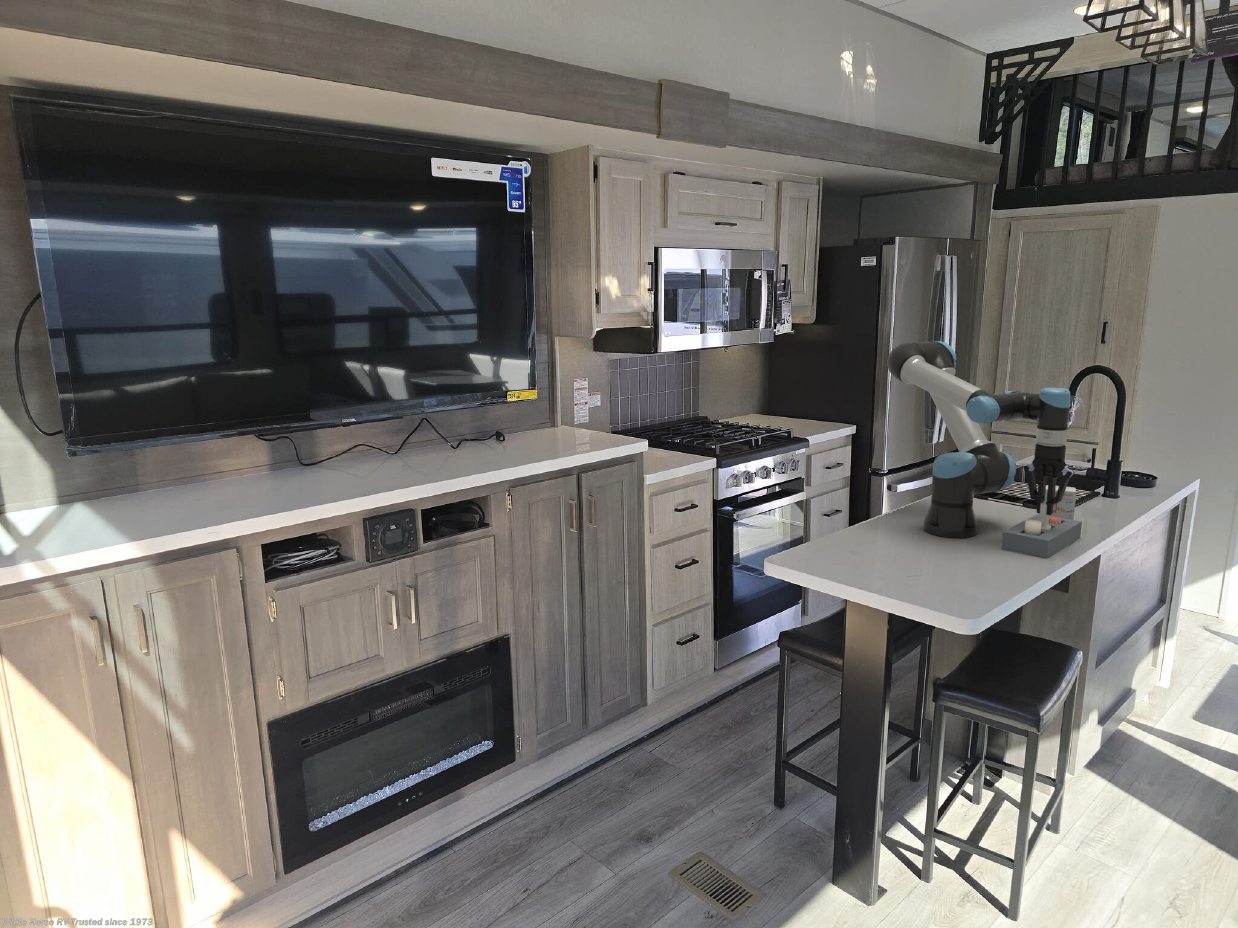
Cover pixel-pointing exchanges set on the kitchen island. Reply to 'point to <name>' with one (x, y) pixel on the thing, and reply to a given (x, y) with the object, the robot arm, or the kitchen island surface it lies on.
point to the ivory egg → (1033, 527)
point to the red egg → (1054, 520)
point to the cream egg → (1046, 527)
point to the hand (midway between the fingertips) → (1043, 525)
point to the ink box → (1064, 503)
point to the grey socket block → (1041, 538)
